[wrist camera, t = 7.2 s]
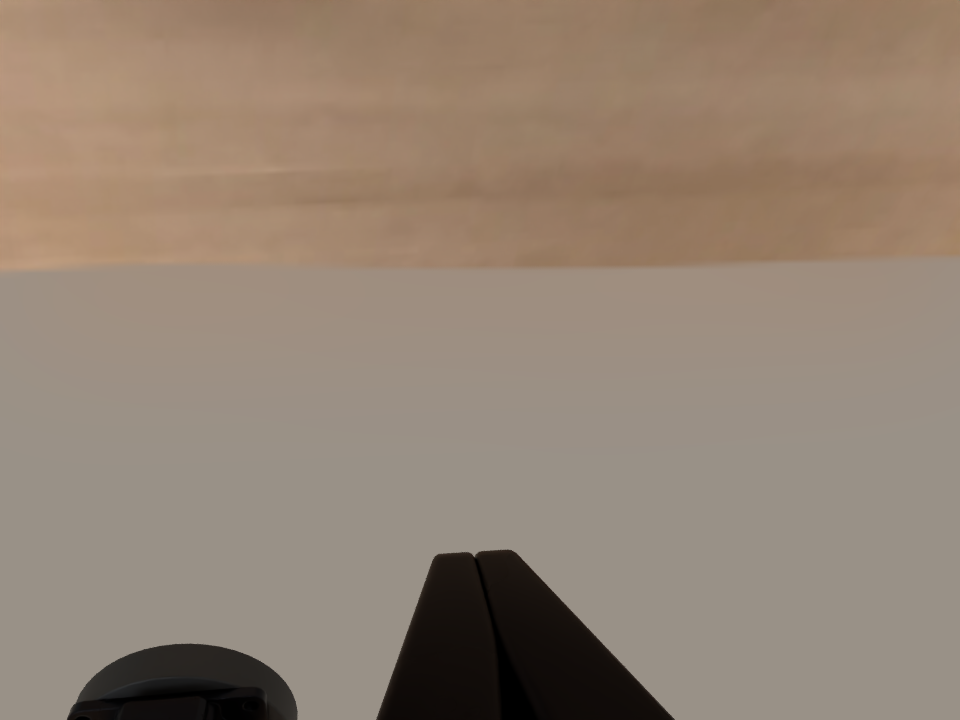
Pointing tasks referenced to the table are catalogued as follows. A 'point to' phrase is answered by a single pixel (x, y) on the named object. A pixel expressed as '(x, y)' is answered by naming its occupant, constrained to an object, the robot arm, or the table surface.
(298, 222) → the table surface
